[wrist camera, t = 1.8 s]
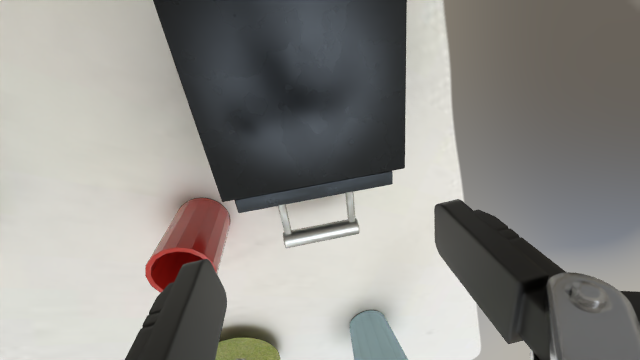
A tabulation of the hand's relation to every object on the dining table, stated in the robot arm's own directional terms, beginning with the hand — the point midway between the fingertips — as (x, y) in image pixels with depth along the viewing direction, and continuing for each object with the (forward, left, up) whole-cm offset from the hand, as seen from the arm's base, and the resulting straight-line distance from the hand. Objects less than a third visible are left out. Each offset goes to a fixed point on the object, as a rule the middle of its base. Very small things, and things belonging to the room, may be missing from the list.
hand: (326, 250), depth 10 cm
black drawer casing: (+1, +7, -19) cm, 20 cm away
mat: (-13, -32, -19) cm, 39 cm away
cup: (+6, -32, -19) cm, 38 cm away
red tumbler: (-11, -9, -19) cm, 24 cm away
